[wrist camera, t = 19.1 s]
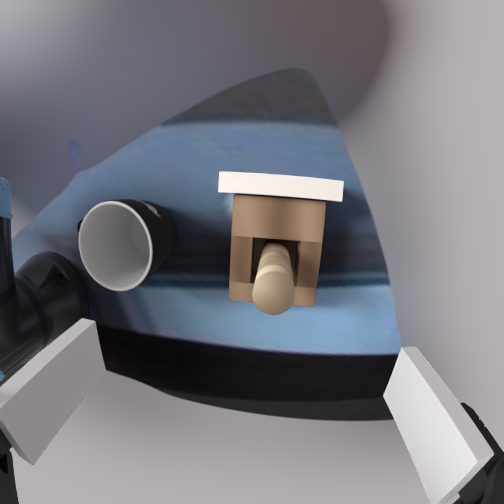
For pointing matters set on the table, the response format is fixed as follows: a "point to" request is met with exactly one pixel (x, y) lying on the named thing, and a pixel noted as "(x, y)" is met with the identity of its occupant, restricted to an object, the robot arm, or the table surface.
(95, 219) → the mug
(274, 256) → the dowel
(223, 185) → the rail
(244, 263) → the block
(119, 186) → the table surface
